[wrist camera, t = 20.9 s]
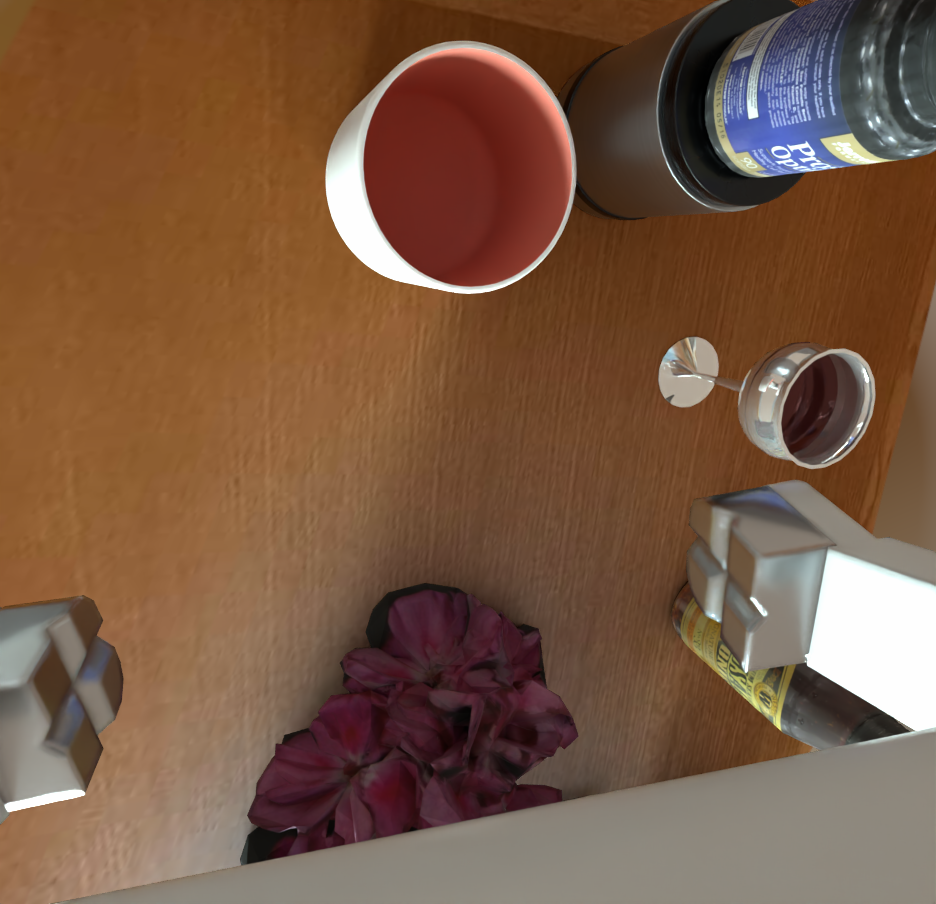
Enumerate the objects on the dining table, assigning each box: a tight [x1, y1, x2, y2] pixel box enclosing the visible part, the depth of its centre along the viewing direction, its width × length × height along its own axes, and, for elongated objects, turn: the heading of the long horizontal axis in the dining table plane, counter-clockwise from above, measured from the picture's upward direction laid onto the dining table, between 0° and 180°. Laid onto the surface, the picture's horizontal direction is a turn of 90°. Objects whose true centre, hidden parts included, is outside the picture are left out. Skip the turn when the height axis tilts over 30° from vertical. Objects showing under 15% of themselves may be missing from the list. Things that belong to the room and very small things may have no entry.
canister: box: [557, 0, 806, 220], centre depth 36 cm, size 9×9×12 cm
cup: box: [326, 41, 576, 293], centre depth 33 cm, size 10×10×10 cm
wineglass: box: [658, 337, 876, 469], centre depth 42 cm, size 7×7×12 cm
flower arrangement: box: [240, 583, 578, 865], centre depth 41 cm, size 31×20×15 cm, turn 163°
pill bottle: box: [705, 0, 936, 178], centre depth 25 cm, size 6×6×11 cm
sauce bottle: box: [671, 583, 910, 750], centre depth 45 cm, size 6×6×20 cm
